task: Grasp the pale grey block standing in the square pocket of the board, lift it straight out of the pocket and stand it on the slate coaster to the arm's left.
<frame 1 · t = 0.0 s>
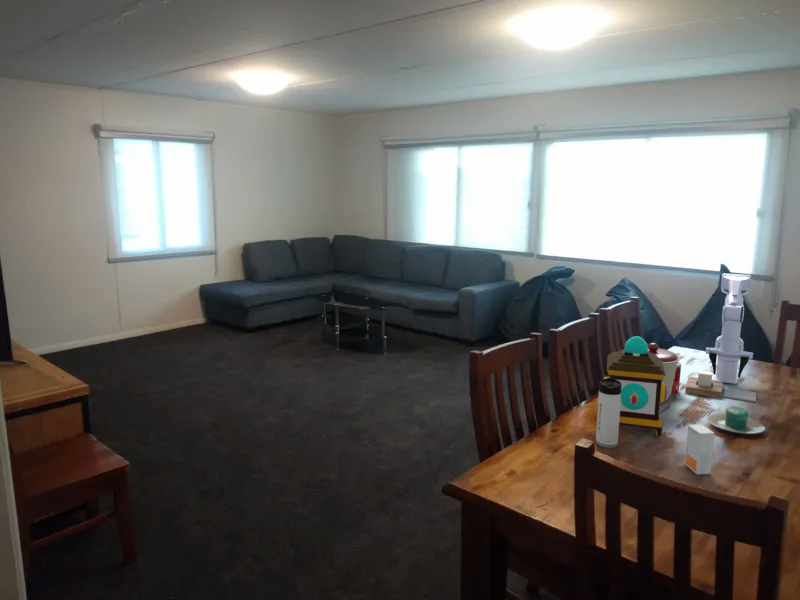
hand: (726, 375, 208), 10 cm above the table, fingers open, 7 cm apart
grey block: (703, 390, 222), resting in pocket board
canned food: (667, 390, 223), on the table
travel mug: (606, 444, 176), on the table
decorative lantern: (630, 425, 190), on the table
skincare box: (697, 470, 160), on the table
pocket board: (703, 389, 222), on the table
coaster: (739, 395, 216), on the table
canister: (649, 398, 214), on the table
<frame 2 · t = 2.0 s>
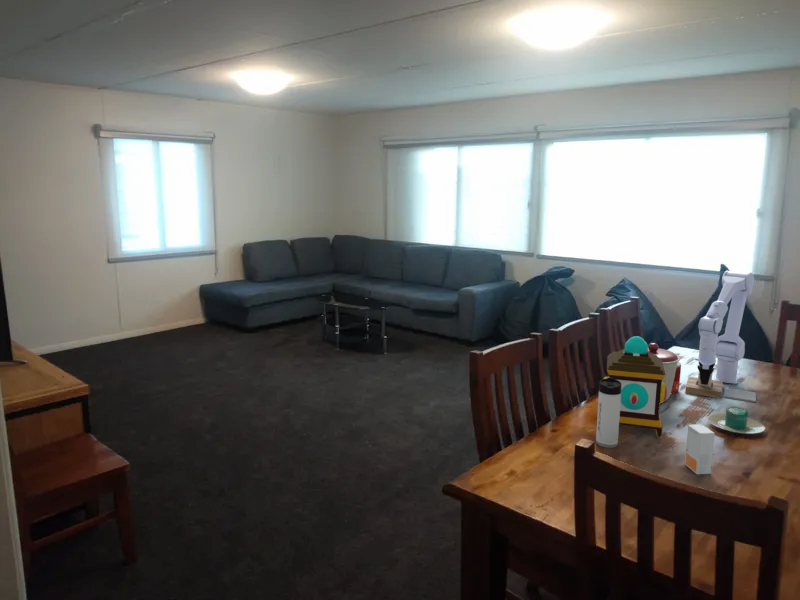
hand: (704, 382, 222), 3 cm above the table, fingers closed on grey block, 4 cm apart
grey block: (703, 389, 222), resting in pocket board, touching gripper
everything else where it was.
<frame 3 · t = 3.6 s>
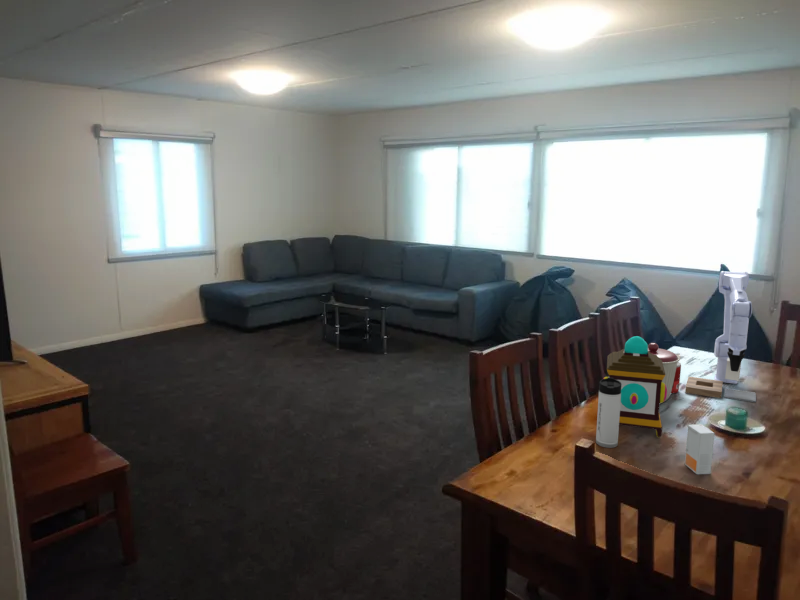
hand: (734, 369, 215), 10 cm above the table, fingers closed on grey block, 4 cm apart
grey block: (732, 378, 216), point 6 cm above the table, touching gripper
everything else where it was.
when the fingers open (4 cm above the table, at t = 5.3 s): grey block stays where it is, resting on coaster.
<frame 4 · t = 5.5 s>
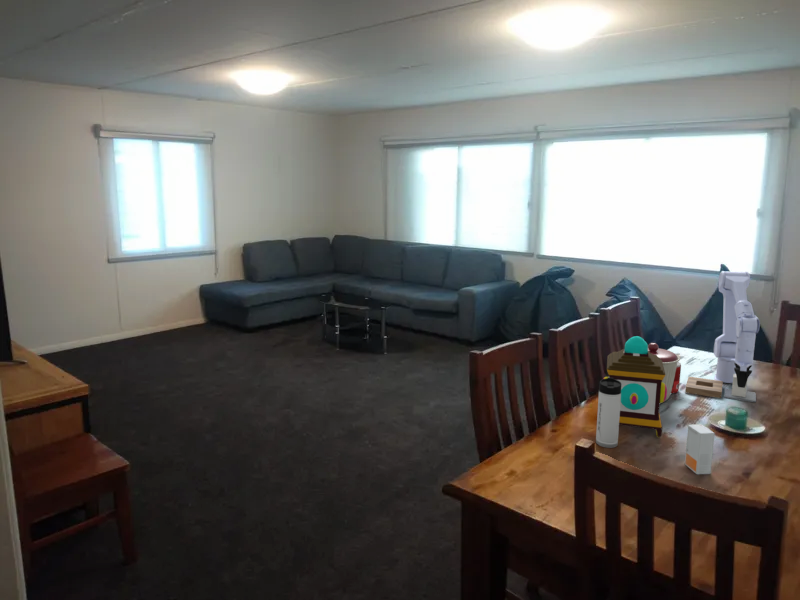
hand: (741, 384, 215), 4 cm above the table, fingers open, 6 cm apart
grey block: (738, 394, 216), point 1 cm above the table, touching coaster
everything else where it was.
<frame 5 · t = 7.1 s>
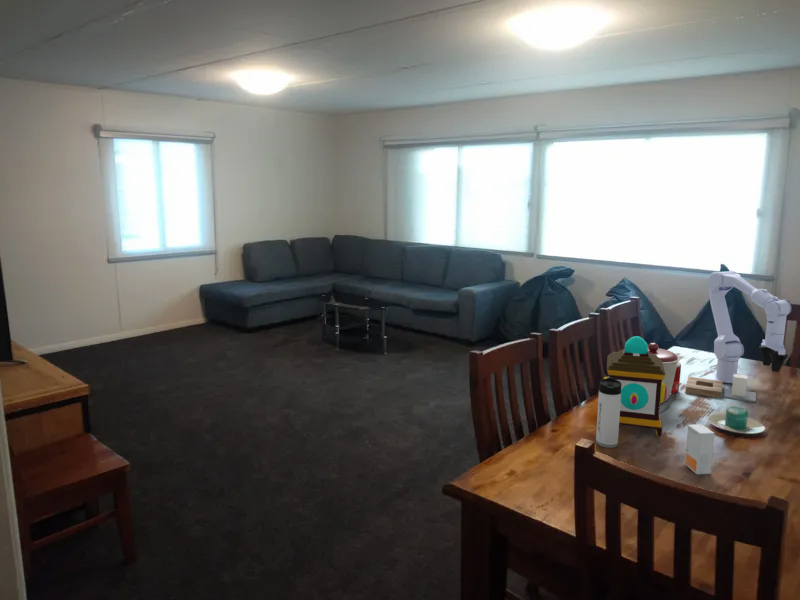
hand: (770, 368, 214), 10 cm above the table, fingers open, 7 cm apart
nothing on the table moved.
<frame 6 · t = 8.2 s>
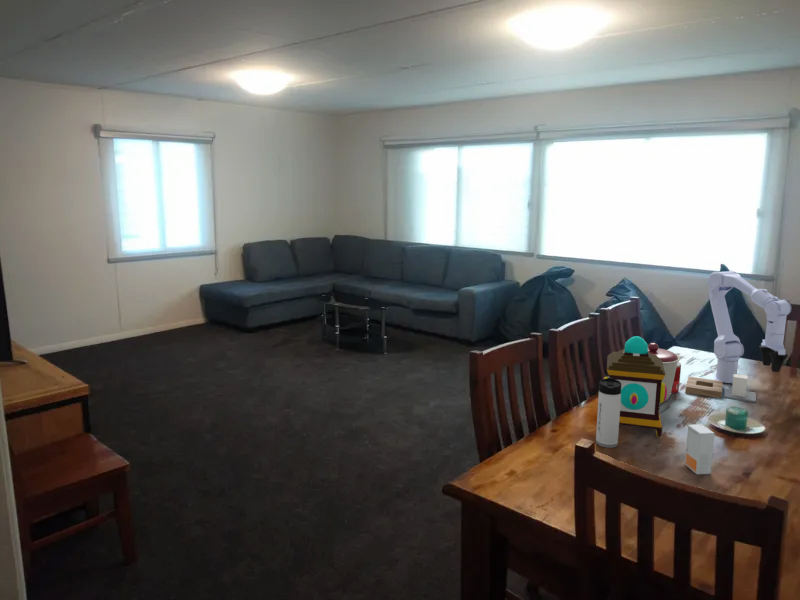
hand: (770, 368, 214), 10 cm above the table, fingers open, 7 cm apart
nothing on the table moved.
at the end: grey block 0.5 cm from the coaster (horizontally); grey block tilted 0°; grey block touching coaster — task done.
